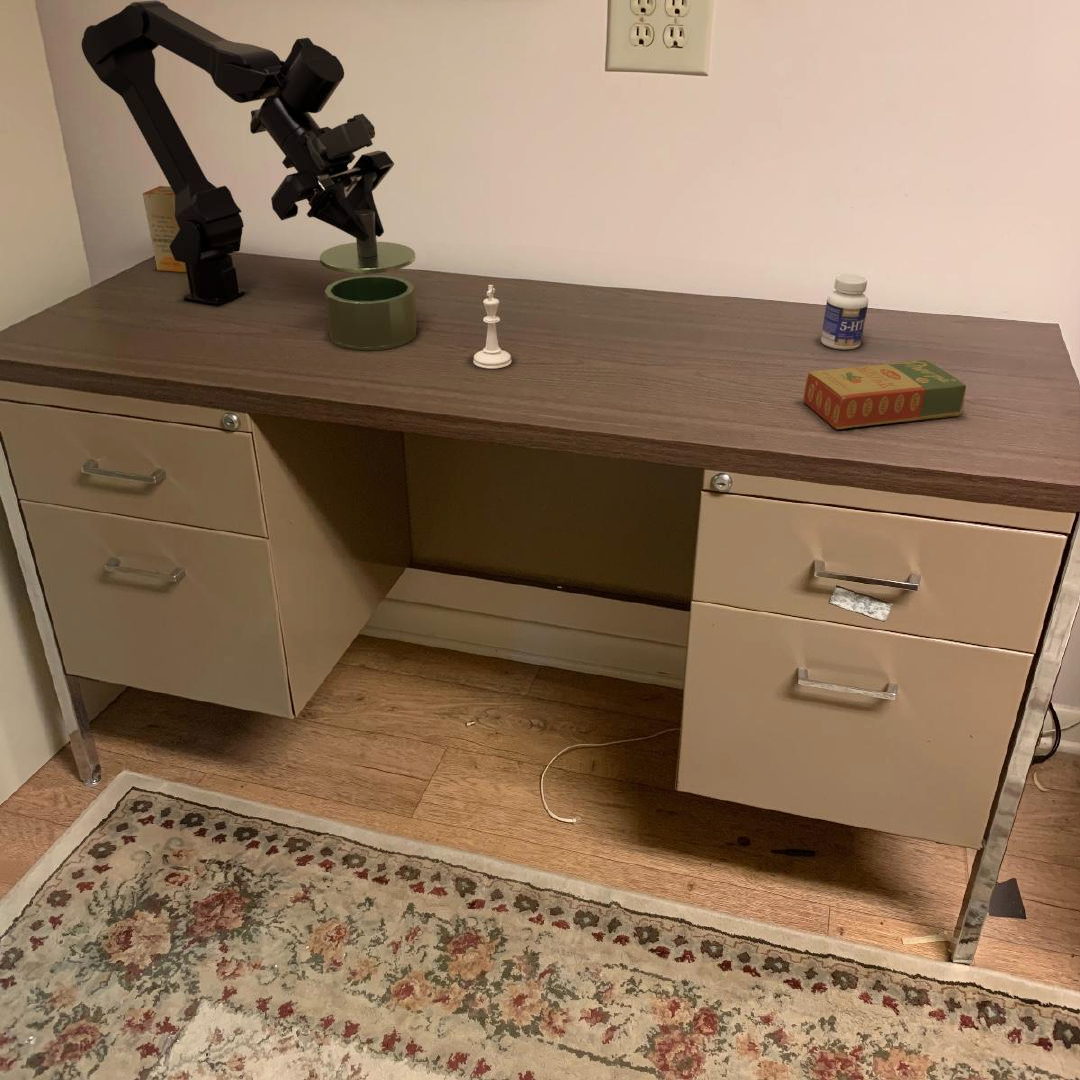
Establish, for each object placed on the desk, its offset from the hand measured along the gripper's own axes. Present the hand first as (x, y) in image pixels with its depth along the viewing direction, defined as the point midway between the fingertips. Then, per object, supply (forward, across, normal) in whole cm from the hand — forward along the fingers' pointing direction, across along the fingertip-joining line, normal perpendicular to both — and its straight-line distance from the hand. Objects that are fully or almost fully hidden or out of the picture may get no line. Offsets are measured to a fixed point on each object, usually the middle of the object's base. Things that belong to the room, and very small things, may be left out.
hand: (374, 237), depth 133 cm
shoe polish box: (-24, +8, +44) cm, 50 cm away
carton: (+55, +11, -36) cm, 67 cm away
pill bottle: (+48, +30, -29) cm, 64 cm away
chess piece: (+22, 0, -3) cm, 22 cm away
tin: (+9, 0, +10) cm, 14 cm away
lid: (+1, 0, +3) cm, 3 cm away
